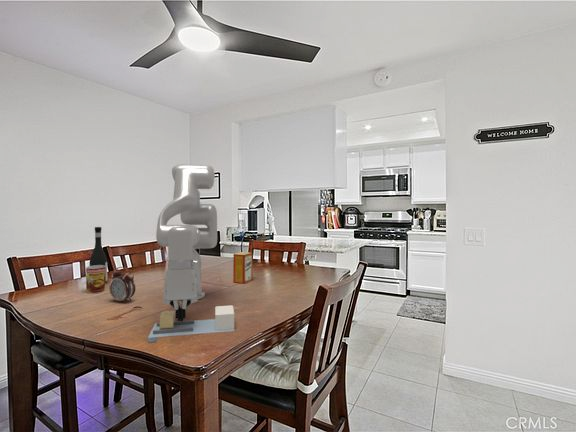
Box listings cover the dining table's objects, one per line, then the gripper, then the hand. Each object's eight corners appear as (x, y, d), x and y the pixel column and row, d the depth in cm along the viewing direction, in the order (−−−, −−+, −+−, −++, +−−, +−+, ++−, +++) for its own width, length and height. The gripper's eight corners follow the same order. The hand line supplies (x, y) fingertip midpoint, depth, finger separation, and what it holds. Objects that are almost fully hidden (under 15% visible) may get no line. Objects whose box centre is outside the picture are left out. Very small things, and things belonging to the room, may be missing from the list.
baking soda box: (242, 279, 179) (242, 251, 179) (252, 280, 177) (252, 251, 177) (233, 282, 171) (233, 253, 170) (244, 284, 168) (244, 254, 168)
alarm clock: (108, 301, 136) (108, 267, 135) (118, 298, 140) (117, 265, 140) (127, 304, 132) (127, 269, 132) (136, 301, 137) (136, 267, 136)
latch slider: (162, 325, 105) (162, 311, 105) (175, 325, 106) (175, 310, 105) (159, 331, 100) (159, 316, 100) (173, 330, 101) (173, 315, 101)
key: (116, 323, 113) (147, 310, 127) (116, 321, 113) (148, 308, 127) (104, 319, 115) (136, 307, 129) (104, 317, 115) (137, 305, 129)
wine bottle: (103, 281, 172) (102, 226, 171) (110, 283, 168) (109, 227, 167) (87, 284, 166) (86, 227, 165) (93, 286, 161) (93, 227, 160)
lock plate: (155, 327, 108) (155, 320, 107) (232, 321, 113) (232, 315, 113) (147, 342, 96) (147, 334, 96) (234, 335, 102) (234, 327, 102)
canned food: (87, 294, 146) (87, 268, 146) (84, 291, 152) (84, 266, 152) (107, 291, 152) (106, 266, 151) (103, 288, 158) (103, 264, 157)
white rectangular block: (215, 320, 111) (215, 306, 110) (232, 319, 112) (232, 305, 112) (215, 330, 102) (215, 315, 102) (234, 328, 103) (234, 313, 103)
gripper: (204, 261, 108) (204, 314, 109) (157, 263, 105) (158, 318, 105) (203, 266, 101) (203, 322, 102) (153, 267, 98) (154, 326, 98)
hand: (180, 320), depth 104 cm, fingers closed
